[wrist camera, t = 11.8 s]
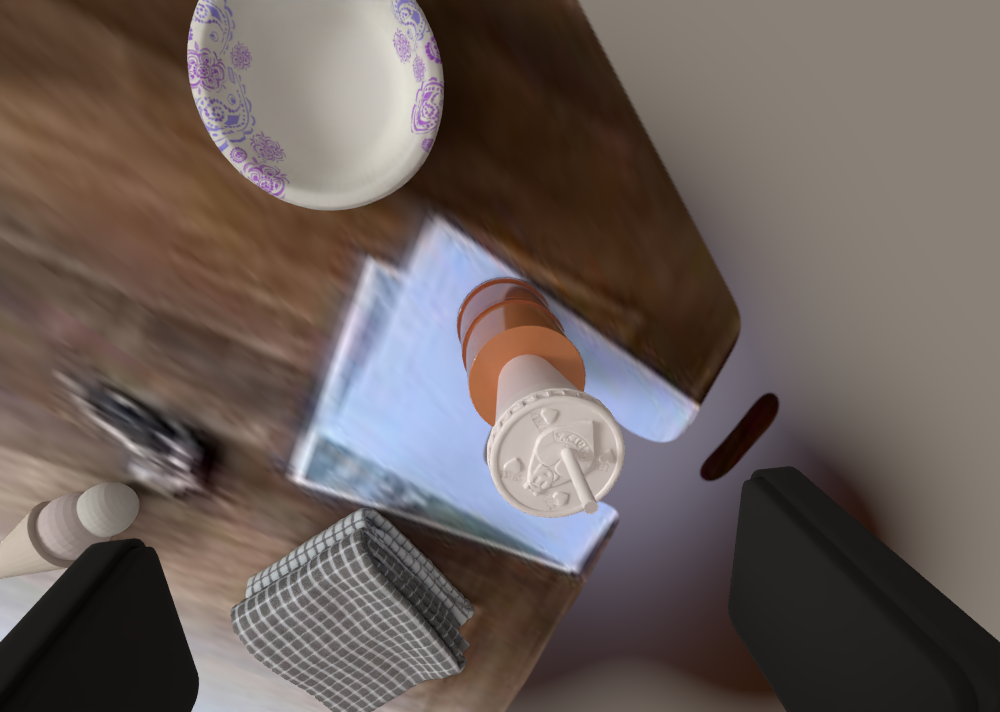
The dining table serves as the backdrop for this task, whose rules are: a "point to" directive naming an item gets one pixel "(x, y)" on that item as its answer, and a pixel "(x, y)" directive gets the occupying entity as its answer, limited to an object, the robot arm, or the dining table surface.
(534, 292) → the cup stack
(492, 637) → the dining table surface
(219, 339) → the dining table surface
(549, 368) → the smoothie
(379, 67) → the paper bowls
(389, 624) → the towel
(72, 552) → the ice cream cone
